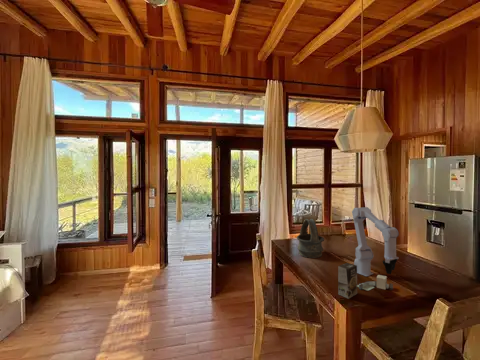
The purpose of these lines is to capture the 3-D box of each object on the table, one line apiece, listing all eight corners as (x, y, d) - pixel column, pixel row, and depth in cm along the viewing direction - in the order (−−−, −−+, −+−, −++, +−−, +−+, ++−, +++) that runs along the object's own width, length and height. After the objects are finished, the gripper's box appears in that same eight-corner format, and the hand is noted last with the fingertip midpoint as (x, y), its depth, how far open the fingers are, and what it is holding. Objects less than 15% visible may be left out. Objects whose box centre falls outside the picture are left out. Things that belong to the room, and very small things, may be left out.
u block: (376, 287, 141) (376, 277, 141) (378, 284, 145) (377, 274, 145) (385, 289, 138) (385, 279, 138) (386, 286, 142) (386, 276, 142)
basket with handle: (296, 258, 193) (296, 221, 192) (297, 249, 215) (296, 216, 215) (325, 260, 187) (325, 221, 187) (322, 250, 210) (322, 216, 209)
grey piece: (355, 285, 144) (355, 280, 144) (388, 285, 143) (388, 280, 143) (359, 289, 139) (359, 284, 139) (393, 290, 138) (393, 284, 138)
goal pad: (356, 286, 143) (356, 285, 143) (363, 283, 147) (363, 282, 147) (367, 291, 137) (367, 290, 137) (374, 287, 141) (374, 287, 141)
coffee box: (348, 299, 129) (348, 269, 129) (337, 294, 134) (337, 265, 134) (357, 293, 134) (357, 265, 134) (346, 289, 139) (346, 262, 139)
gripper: (395, 253, 132) (395, 277, 132) (400, 246, 142) (401, 269, 143) (381, 250, 137) (381, 274, 137) (387, 244, 147) (387, 266, 148)
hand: (390, 271), depth 140 cm, fingers open, 7 cm apart
